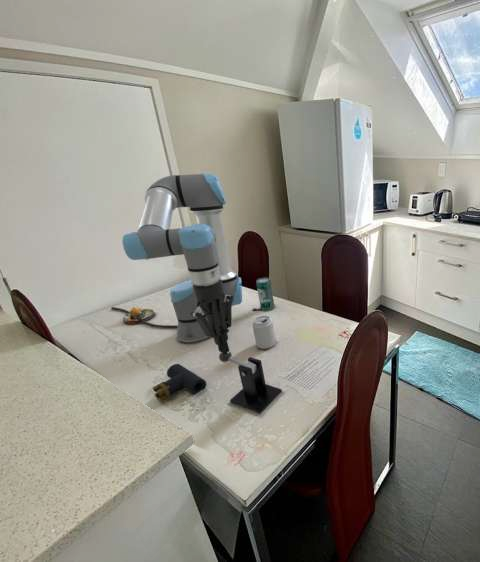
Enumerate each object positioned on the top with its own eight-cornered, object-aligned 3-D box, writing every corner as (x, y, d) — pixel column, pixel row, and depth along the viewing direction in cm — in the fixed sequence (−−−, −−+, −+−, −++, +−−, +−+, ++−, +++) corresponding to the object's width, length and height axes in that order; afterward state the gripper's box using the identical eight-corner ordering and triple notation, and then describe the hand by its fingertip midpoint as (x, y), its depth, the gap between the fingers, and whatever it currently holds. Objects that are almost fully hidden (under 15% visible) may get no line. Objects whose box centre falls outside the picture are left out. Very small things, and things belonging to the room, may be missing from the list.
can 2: (270, 351, 122) (265, 325, 117) (253, 349, 123) (247, 323, 119) (279, 340, 129) (275, 315, 124) (262, 338, 130) (258, 313, 125)
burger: (160, 311, 153) (155, 298, 150) (144, 324, 142) (139, 310, 139) (135, 312, 152) (130, 298, 150) (117, 325, 142) (111, 310, 139)
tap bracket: (230, 403, 97) (221, 368, 92) (253, 383, 106) (246, 349, 100) (260, 415, 93) (252, 379, 87) (282, 393, 101) (276, 358, 96)
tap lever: (216, 361, 97) (215, 352, 96) (226, 355, 100) (225, 346, 99) (250, 378, 93) (249, 369, 92) (258, 370, 96) (258, 361, 95)
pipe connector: (167, 397, 93) (143, 379, 100) (171, 411, 95) (148, 392, 102) (204, 376, 102) (180, 360, 109) (207, 388, 104) (183, 373, 111)
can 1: (258, 308, 154) (253, 281, 148) (268, 303, 159) (263, 276, 153) (267, 311, 151) (262, 283, 145) (276, 306, 156) (272, 279, 150)
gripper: (196, 293, 80) (215, 366, 90) (235, 275, 91) (249, 342, 101) (176, 288, 83) (197, 360, 92) (216, 271, 94) (231, 337, 103)
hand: (224, 350), depth 97 cm, fingers closed
